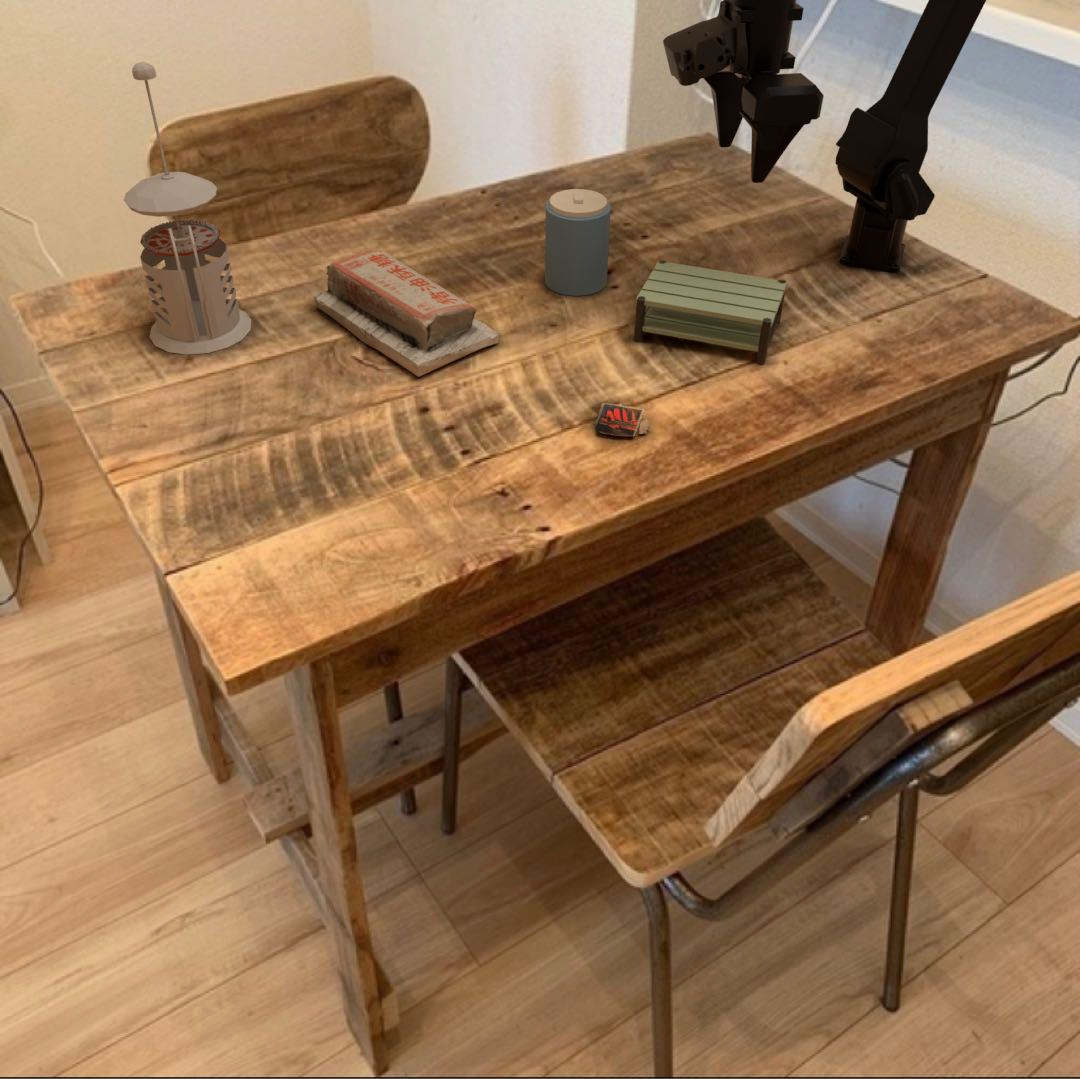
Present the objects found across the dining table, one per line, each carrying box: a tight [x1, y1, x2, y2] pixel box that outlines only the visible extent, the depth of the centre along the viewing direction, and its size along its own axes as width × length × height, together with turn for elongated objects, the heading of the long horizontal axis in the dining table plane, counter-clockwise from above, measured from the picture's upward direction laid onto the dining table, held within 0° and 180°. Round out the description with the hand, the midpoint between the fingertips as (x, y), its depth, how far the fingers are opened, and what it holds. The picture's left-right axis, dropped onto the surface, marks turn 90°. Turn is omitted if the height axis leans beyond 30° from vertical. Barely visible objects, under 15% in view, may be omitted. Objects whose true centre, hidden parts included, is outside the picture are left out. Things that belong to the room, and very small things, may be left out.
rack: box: [633, 259, 788, 365], centre depth 104 cm, size 9×13×4 cm
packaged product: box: [314, 249, 501, 378], centre depth 104 cm, size 18×5×10 cm
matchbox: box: [594, 402, 651, 439], centre depth 93 cm, size 5×5×1 cm
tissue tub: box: [544, 188, 612, 297], centre depth 111 cm, size 7×7×9 cm
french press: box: [123, 61, 252, 356], centre depth 97 cm, size 10×12×25 cm
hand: (740, 163), depth 105 cm, fingers open, 9 cm apart
